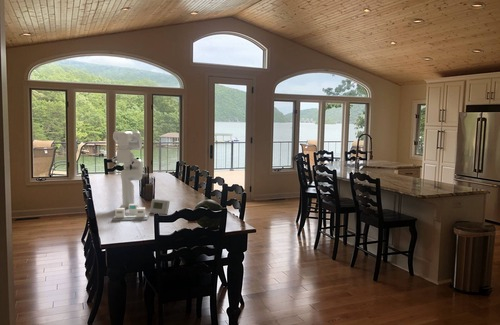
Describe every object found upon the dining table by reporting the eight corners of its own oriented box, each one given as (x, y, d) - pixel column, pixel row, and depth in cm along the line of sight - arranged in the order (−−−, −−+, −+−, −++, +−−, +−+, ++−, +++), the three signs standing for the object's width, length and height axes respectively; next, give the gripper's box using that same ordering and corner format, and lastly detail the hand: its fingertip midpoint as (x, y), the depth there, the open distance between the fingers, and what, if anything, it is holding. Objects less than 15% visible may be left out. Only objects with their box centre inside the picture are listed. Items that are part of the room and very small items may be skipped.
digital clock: (148, 212, 318) (148, 199, 317) (156, 210, 326) (156, 197, 324) (163, 215, 310) (163, 202, 308) (171, 213, 317) (171, 200, 316)
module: (129, 213, 315) (129, 203, 314) (137, 213, 315) (137, 203, 315) (128, 215, 310) (128, 205, 309) (136, 215, 311) (136, 205, 310)
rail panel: (115, 216, 304) (114, 206, 304) (148, 216, 308) (148, 206, 307) (111, 221, 292) (111, 210, 291) (146, 220, 295) (146, 210, 294)
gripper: (134, 147, 315) (135, 169, 317) (111, 147, 309) (111, 170, 311) (135, 148, 308) (136, 170, 310) (111, 148, 302) (112, 171, 304)
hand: (123, 170), depth 310 cm, fingers open, 9 cm apart
